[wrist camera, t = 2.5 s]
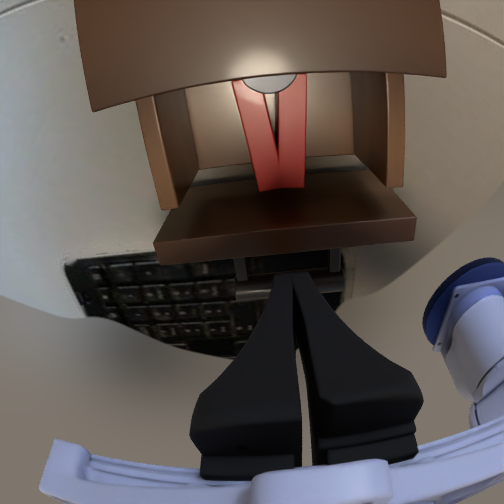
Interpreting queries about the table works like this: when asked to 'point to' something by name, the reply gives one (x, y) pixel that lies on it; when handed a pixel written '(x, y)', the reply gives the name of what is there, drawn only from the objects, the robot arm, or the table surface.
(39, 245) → the table surface
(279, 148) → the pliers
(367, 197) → the drawer
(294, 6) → the cabinet
